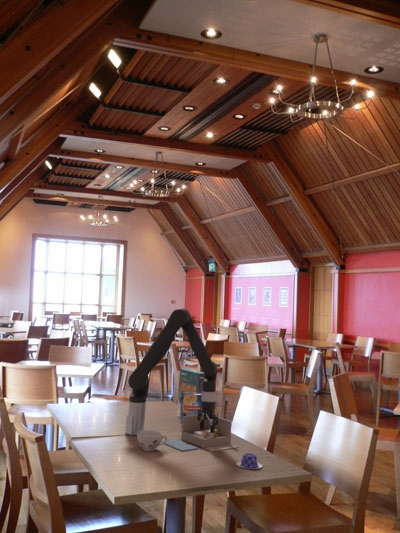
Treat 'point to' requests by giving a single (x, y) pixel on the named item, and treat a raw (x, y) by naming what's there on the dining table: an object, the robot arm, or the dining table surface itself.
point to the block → (207, 434)
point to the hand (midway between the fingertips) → (207, 431)
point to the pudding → (249, 461)
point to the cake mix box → (189, 384)
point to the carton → (193, 425)
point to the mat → (180, 445)
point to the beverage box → (189, 405)
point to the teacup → (150, 439)
